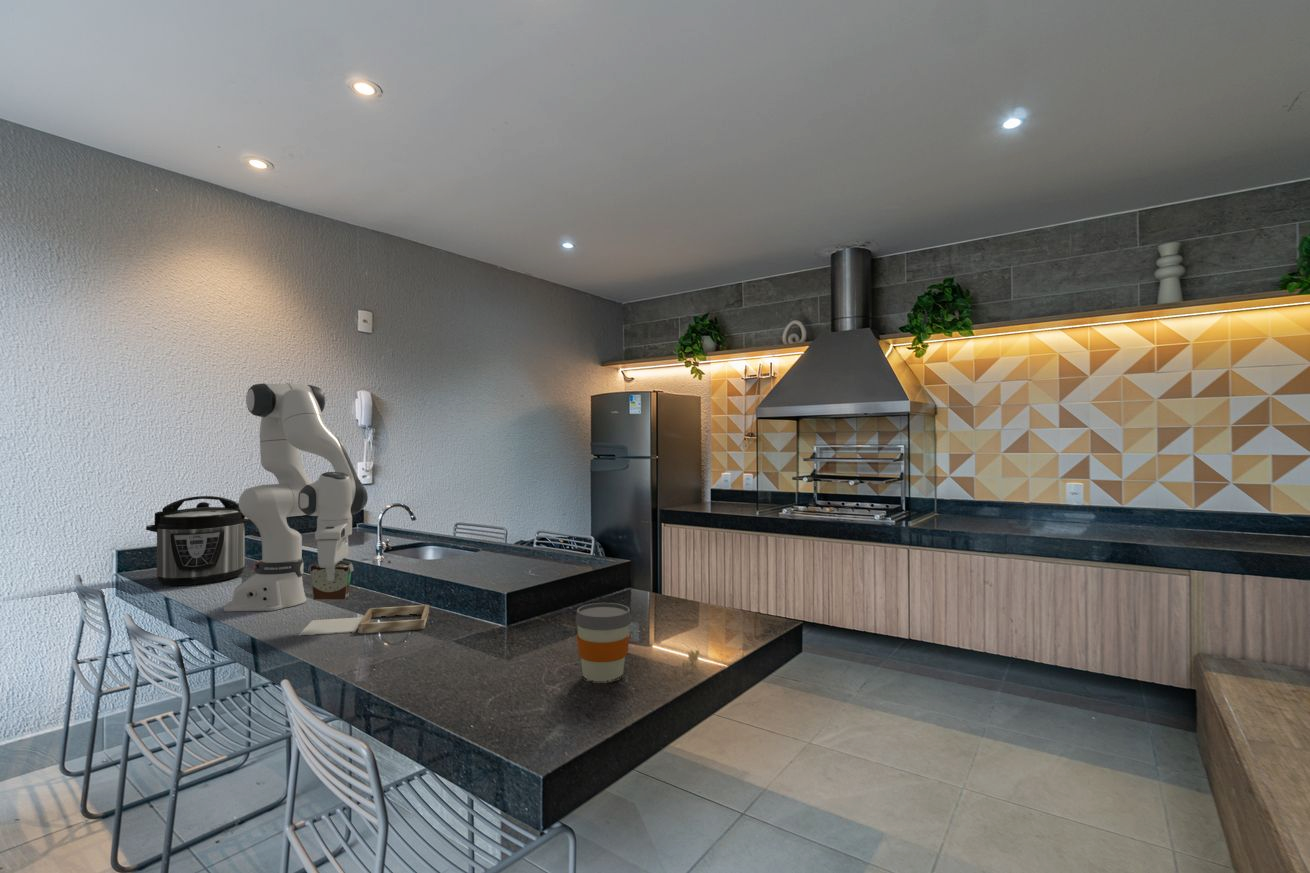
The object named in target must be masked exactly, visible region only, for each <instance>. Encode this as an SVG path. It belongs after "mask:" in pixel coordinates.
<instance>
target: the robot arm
mask: <svg viewBox="0 0 1310 873" xmlns="http://www.w3.org/2000/svg"><path fill="white" fill-rule="evenodd" d="M245 403H246V408H247V410H248V411H249V413H250V414H252V415H253V416H255V417H260V418H261V420H260V424H259V425H260V426H259V452H260V454H259V455H260V464H261V466H262V469H264V470H265V471H267V472H270V473H271V474H272V475H274V476H275V478H276V479H277V482H278V483H271V484H270V483H269V484H261V485H255V486H252V487H249V488H246V489H244V491H243V492H241V494H240V496H239V498H238V503H239V509H240V511H241V513H242V514H243V515H244V516H245V518H246V519H250V520H251V521H252V522H253V523H252V524H254V525H255V527H256V528H257V530H258V533H259V535H260V539H261V558H262V559H260V560H259V561H258V562H257V563H256V564H254V565H253V570H254V572H255V573H254V574H252V575H251V576H249V577H248V578H247V579H245V580H244V581H243V582H241V583H240V584H239V585H237V586H236V588H235V589H234V592H233V593H232V594H233V595H232V599H231V601H229V602H227V603H225V604H224V605H223V609H222V611H224V612H257V611H258V612H264V611H266V612H267V611H268V612H270V611H271V612H272V611H276V610H281V609H285V608H290V607H295V606H299V605H302V604H304V603H305V602H307V597H306V593H305V590H304V589H305V588H304V583H303V575H304V565H305V564H304V558H303V556H302V553H303V552H302V551H303V536H302V534H301V533H300V532H299V531H297V530H296V529H295V528H291V527H290V526H289V524H288V522H287V521H288V520H287V518H289V517H290V518H291V517H296V516H305V515H307V516H310V517H311V516H312V517H317V519H316V531H315V532H314V540H315V541H316V540H317V543H316V548H317V550H316V551H317V553H316V554H317V563H318V564H319V567H320V568H326V573H327V581H333V580H334V579H335V565H336V564H337V563H338V562H340V561H344V558H347V556H348V555H349V536H351V535H352V534H353V515H357V514H358V513H360V512H361V511H362V510H363V509H364V508H365V506H366V505H367V503H368V500H369V499H368V498H369V497H368V492H367V490H366V488H365V485H364V484H363V483H362V481H361V479H360V478H359V477H358V474H357V472H356V470H355V467H354V464H353V463H352V461H351V459H350V456H349V455H348V452H347V450H346V448H345V445H344V444H343V442H342V441H341V439H340V438H339V437H338V436H336V435H335V434H334V433H333V432H331V430H330V429H329V428H328V426H327V424H326V423H325V420H324V417H323V412H324V410H325V406H326V397H325V393H324V391H323V390H322V389H321V388H320V387H318V386H316V385H315V386H314V385H310V384H308V385H304V384H298V383H288V382H287V383H267V384H266V383H265V382H264V383H258V384H257V383H256V384H253V385H251V386H250V387H249V389H248V390H247V393H246V395H245ZM301 451H303V452H306V453H309V454H314V455H316V456H319V457H321V458H324V459H325V460H326V461H328V462H329V463H330V465H331V467H332V468H333V471H328V472H323V473H321V474H320V475H319V477H318V479H317V480H316V481H314V482H313V481H312V480H311V479H310V478H309V476H308V475H307V473H306V471H305V469H304V466H303V463H302V459H301Z"/></svg>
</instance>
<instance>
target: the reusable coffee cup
mask: <svg viewBox="0 0 1310 873" xmlns="http://www.w3.org/2000/svg"><path fill="white" fill-rule="evenodd" d="M631 622H632V618H631V610H630V607H629V606H627V605H624V604H622V603H615V602H614V603H613V602H595V603H589V604H584V605H581V606H580V607H578V608H577V610H576V616H575V625H576V626H577V634H576V642H577V643H576V644H577V651H578V652H577V653H578V657H579V658H580V662H581V668H582V669H581V670H582V671H581V672H582V677H583V676H584V677H585V678H587V679H589V680H594V681H607V680H611V679H615V678H617V677H619V676H621V675H622V674H623V675H624V668H625V667H624V666H625V659H626V657H627V656H628V652H629V644H630V643H629V642H630V635H631V634H630V631H629V630H630V624H631Z"/></svg>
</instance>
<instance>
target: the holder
mask: <svg viewBox="0 0 1310 873" xmlns="http://www.w3.org/2000/svg"><path fill="white" fill-rule="evenodd" d="M409 614H417V615H421V618H418V619H405V620H403V619H402V620H393V621H392V620H391V621H376V622H375V621H374V622H371V620H372V619H371V618H382V617H381V616H386V617H396V616H395V615H401V616H410V615H409ZM428 614H430V604H421V605H420V604H419V605H418V604H417V605H402V606H390V607H389V606H388V607H385V606H384V607H371V608H370V607H369V608H368V609H367V611H366V613H365V614H364V615H363V616H362V617H363V618H362V620H361V621H360V623H359V624H358V629H357V632H358V634H359V633H360V634H369V633H370V634H371V633H374V634H375V633H382V632H383V633H386V631H387V632H396V631H397V632H398V631H411V630H413V631H414V630H416V631H417V630H424V629H425V627H426V624H427V621H428V618H429V615H428ZM427 617H428V618H427Z"/></svg>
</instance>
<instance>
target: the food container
mask: <svg viewBox="0 0 1310 873" xmlns="http://www.w3.org/2000/svg"><path fill="white" fill-rule="evenodd" d="M354 570H355V569H354V565H353V563H352V562H351V561H348V560H343V561H340V562H338V563H337V564H336V565H335V579H334V580H333V581H327V573H326V568H320V567H319V564H318V562H314V563H310V564H309V566H308V569H307V573H309V574H310V576H309V577H310V584H311V591H312V592H311V593H312V595H311V596H312V601H347V600H349V595H350V586H351V585H350V584H351V583H350V582H351V575H352V572H354Z"/></svg>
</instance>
